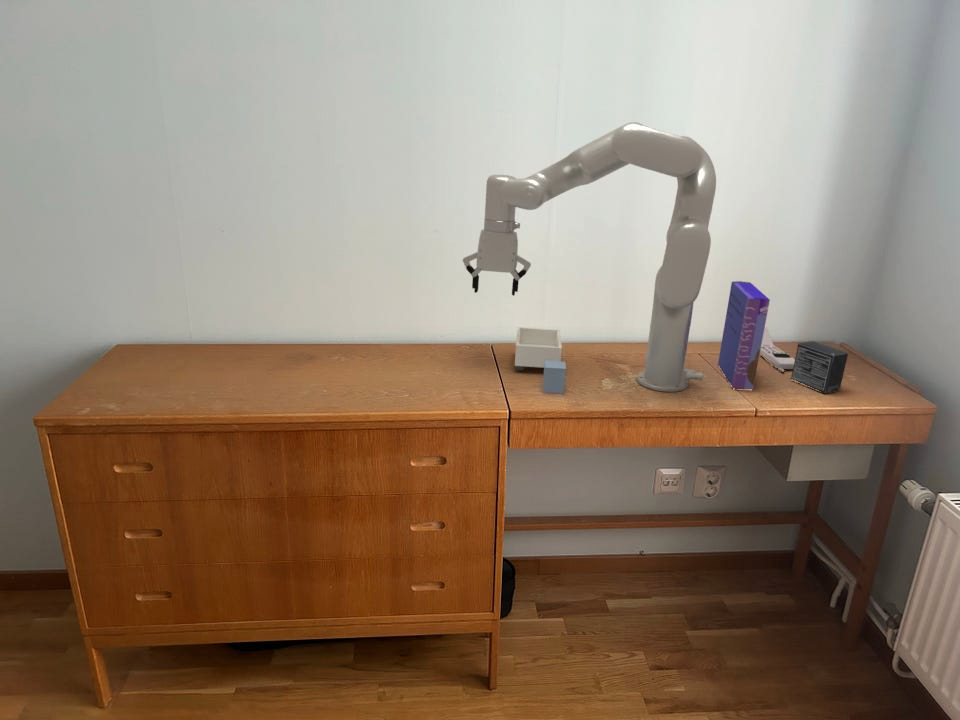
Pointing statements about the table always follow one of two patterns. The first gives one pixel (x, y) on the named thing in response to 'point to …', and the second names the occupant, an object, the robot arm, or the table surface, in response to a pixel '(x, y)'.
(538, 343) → the white storage bin
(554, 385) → the block
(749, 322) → the cereal box
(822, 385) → the small box
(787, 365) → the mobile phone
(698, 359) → the table surface
